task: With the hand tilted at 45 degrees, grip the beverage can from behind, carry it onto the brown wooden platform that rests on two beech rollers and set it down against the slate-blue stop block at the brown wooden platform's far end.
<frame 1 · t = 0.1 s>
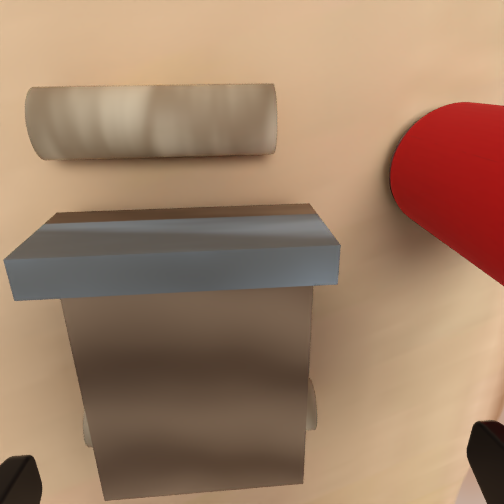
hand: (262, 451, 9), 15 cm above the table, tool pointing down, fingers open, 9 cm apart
beverage can: (438, 162, 22), on the table
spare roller: (163, 118, 20), on the table
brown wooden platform: (199, 325, 24), on the table
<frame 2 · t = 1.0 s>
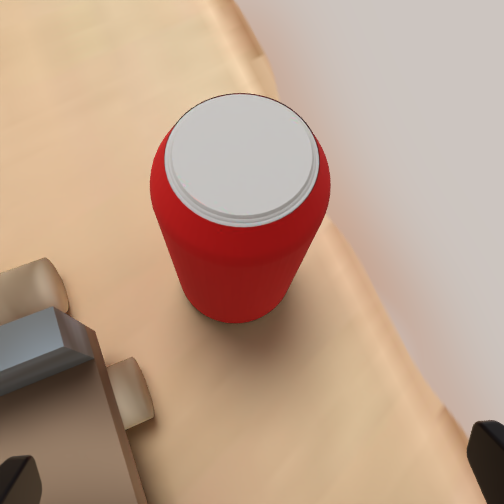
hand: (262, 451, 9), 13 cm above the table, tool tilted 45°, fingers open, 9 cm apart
beverage can: (235, 274, 24), on the table
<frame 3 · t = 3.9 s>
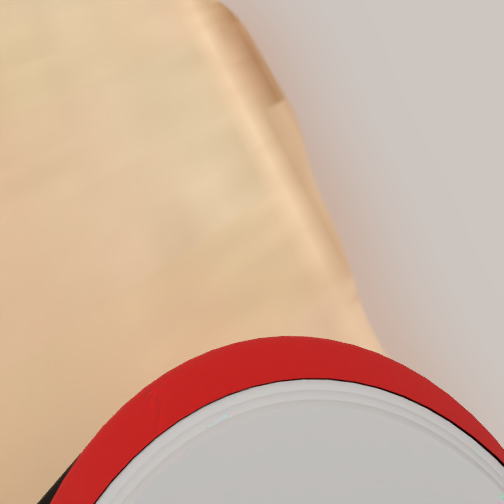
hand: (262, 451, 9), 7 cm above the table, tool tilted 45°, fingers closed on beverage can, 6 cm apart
beverage can: (249, 481, 14), on the table, touching gripper
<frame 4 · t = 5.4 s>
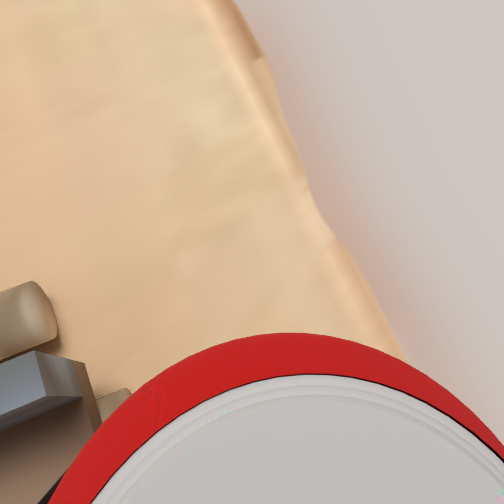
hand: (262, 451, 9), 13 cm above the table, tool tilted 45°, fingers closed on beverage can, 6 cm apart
beverage can: (249, 479, 14), point 6 cm above the table, touching gripper
when the fingers open (12 cm above the table, at t = 7.2 s): beverage can stays where it is, resting on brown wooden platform.
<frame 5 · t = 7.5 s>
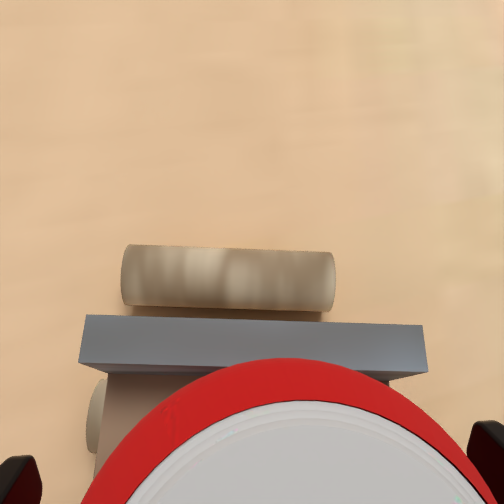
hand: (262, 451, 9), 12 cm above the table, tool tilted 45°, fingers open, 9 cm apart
beverage can: (249, 482, 15), point 4 cm above the table, touching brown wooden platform
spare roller: (229, 286, 22), on the table
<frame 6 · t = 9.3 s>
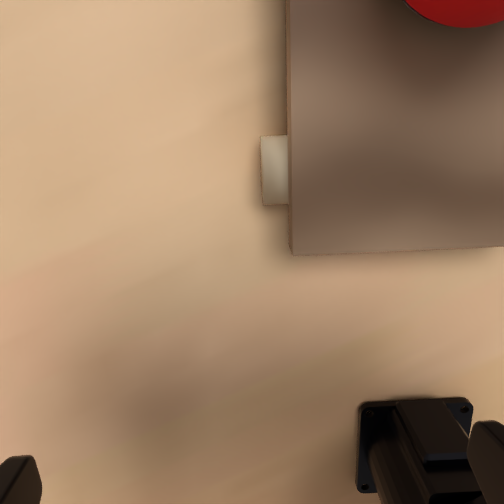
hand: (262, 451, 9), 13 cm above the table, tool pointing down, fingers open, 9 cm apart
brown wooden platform: (404, 45, 18), on the table
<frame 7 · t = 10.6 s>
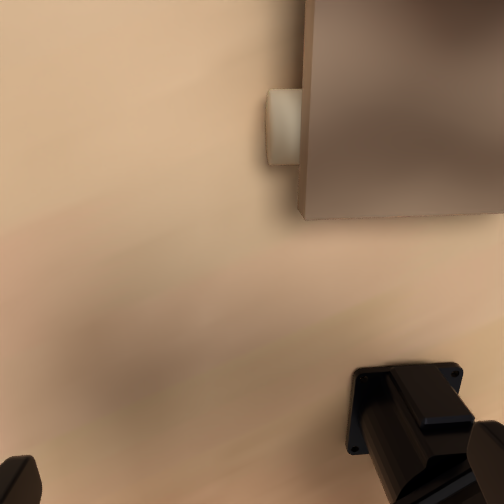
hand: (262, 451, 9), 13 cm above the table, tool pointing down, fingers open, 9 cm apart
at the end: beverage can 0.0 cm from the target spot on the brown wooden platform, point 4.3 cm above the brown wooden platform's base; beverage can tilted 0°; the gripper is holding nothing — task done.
